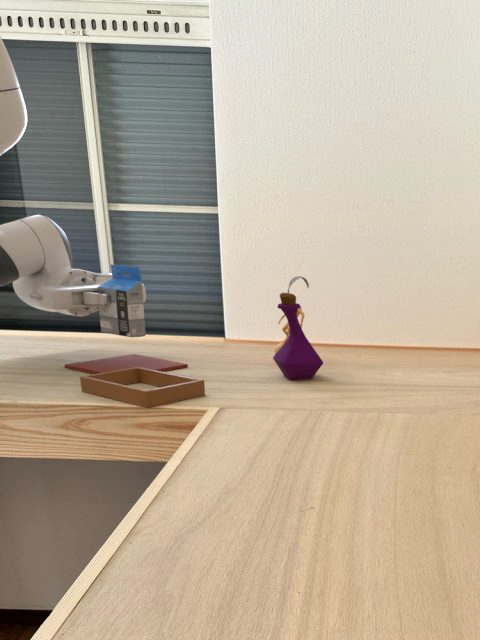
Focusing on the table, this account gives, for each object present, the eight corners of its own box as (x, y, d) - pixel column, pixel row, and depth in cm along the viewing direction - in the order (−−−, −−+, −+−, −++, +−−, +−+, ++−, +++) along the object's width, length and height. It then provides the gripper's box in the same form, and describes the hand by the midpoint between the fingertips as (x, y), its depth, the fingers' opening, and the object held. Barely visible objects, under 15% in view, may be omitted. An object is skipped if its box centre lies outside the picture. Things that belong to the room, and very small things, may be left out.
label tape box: (100, 333, 138) (92, 264, 133) (118, 330, 141) (111, 263, 136) (129, 338, 133) (122, 267, 128) (148, 336, 136) (141, 267, 131)
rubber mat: (118, 379, 129) (117, 376, 129) (64, 367, 137) (64, 364, 137) (188, 367, 141) (187, 364, 141) (135, 356, 149) (134, 354, 149)
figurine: (265, 359, 151) (264, 299, 146) (290, 357, 154) (289, 298, 150) (287, 366, 145) (286, 304, 141) (312, 363, 149) (312, 302, 144)
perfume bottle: (284, 382, 130) (281, 277, 124) (273, 374, 137) (270, 274, 130) (323, 380, 133) (323, 277, 127) (310, 372, 140) (310, 274, 133)
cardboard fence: (147, 407, 111) (146, 391, 110) (81, 391, 119) (79, 376, 118) (205, 395, 120) (204, 380, 119) (140, 380, 128) (138, 366, 127)
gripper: (21, 277, 132) (66, 283, 125) (117, 273, 148) (162, 278, 141) (27, 313, 135) (71, 321, 128) (120, 305, 151) (164, 311, 143)
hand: (120, 298), depth 134 cm, fingers closed on label tape box, 4 cm apart
